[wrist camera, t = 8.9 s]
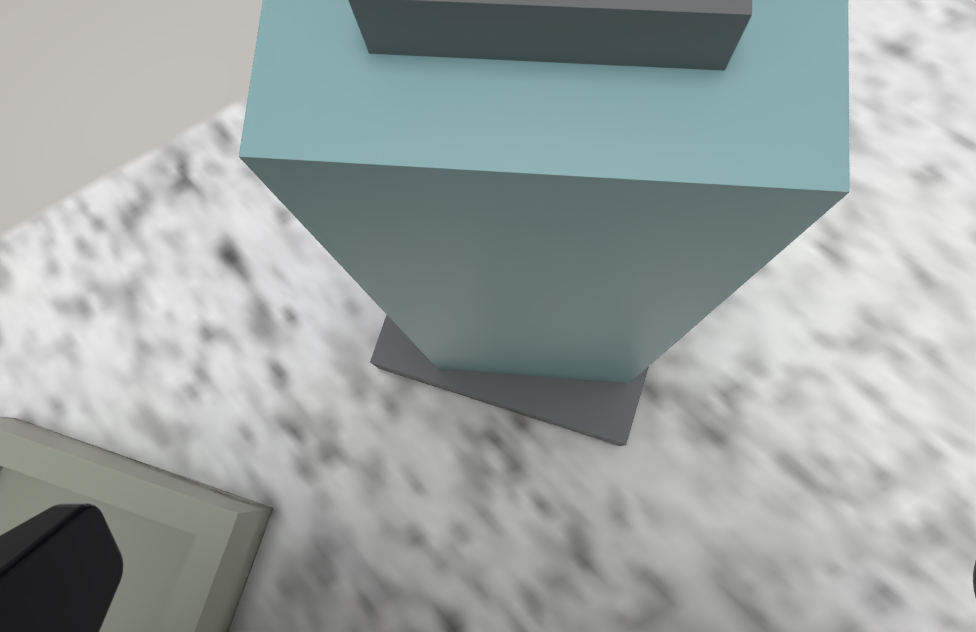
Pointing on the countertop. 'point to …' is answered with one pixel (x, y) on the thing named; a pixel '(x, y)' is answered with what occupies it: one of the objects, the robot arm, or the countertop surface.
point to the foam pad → (522, 390)
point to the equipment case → (140, 527)
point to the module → (551, 162)
